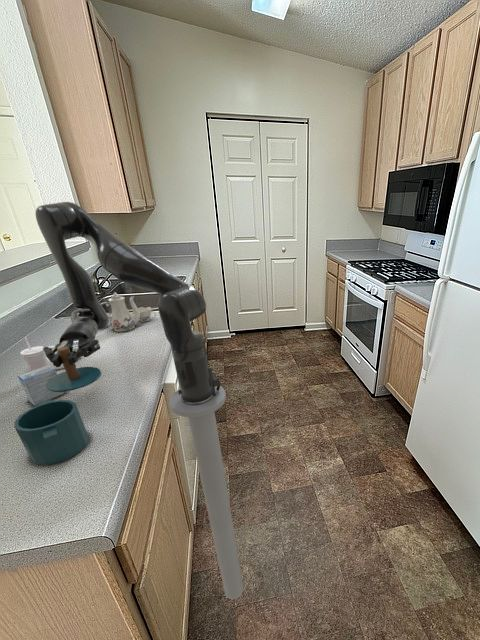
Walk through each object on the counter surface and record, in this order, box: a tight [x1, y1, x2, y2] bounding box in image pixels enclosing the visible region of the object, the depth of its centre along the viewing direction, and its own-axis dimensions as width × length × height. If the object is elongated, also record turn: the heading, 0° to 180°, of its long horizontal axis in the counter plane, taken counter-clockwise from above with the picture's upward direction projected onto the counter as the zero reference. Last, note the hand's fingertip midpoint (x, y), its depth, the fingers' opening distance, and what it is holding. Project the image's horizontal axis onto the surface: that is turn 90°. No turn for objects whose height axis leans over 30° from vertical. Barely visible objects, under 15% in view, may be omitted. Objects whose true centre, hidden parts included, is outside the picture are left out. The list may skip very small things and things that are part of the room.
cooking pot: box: [14, 399, 90, 466], centre depth 76 cm, size 11×17×10 cm
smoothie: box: [20, 336, 48, 371], centre depth 105 cm, size 6×6×14 cm
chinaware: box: [100, 291, 157, 333], centre depth 146 cm, size 28×17×17 cm, turn 122°
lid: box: [46, 347, 102, 393], centre depth 85 cm, size 12×12×10 cm
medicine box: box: [17, 365, 65, 407], centre depth 95 cm, size 8×4×9 cm, turn 145°
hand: (63, 362), depth 82 cm, fingers closed on lid, 2 cm apart
